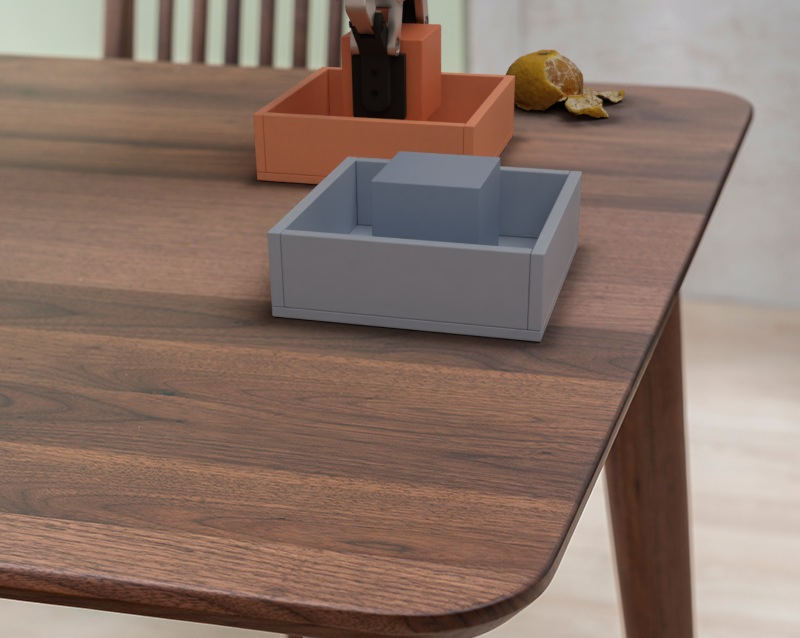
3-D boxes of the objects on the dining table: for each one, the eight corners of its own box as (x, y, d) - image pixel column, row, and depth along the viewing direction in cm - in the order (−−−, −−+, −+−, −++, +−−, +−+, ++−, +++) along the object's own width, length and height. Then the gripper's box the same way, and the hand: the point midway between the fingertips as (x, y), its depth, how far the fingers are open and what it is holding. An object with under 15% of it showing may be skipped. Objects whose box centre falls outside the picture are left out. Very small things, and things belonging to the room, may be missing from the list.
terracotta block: (343, 120, 77) (340, 36, 74) (365, 101, 81) (363, 21, 79) (422, 124, 75) (422, 39, 73) (441, 105, 80) (441, 24, 78)
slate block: (372, 284, 59) (370, 180, 56) (400, 248, 63) (398, 150, 61) (477, 293, 57) (479, 188, 55) (498, 256, 62) (500, 156, 60)
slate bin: (272, 316, 57) (266, 232, 55) (349, 229, 67) (347, 156, 65) (540, 342, 54) (544, 254, 52) (578, 247, 64) (582, 170, 63)
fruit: (600, 123, 86) (603, 69, 84) (485, 113, 89) (486, 60, 87) (628, 97, 93) (632, 46, 91) (520, 88, 96) (522, 39, 94)
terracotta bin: (257, 180, 75) (252, 113, 73) (324, 125, 87) (321, 66, 85) (473, 195, 72) (474, 126, 70) (513, 136, 84) (515, 75, 82)
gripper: (364, -219, 78) (371, 76, 86) (270, -213, 63) (290, 142, 72) (483, -220, 76) (478, 81, 85) (415, -215, 62) (417, 149, 70)
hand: (392, 105), depth 78 cm, fingers closed on terracotta block, 5 cm apart
